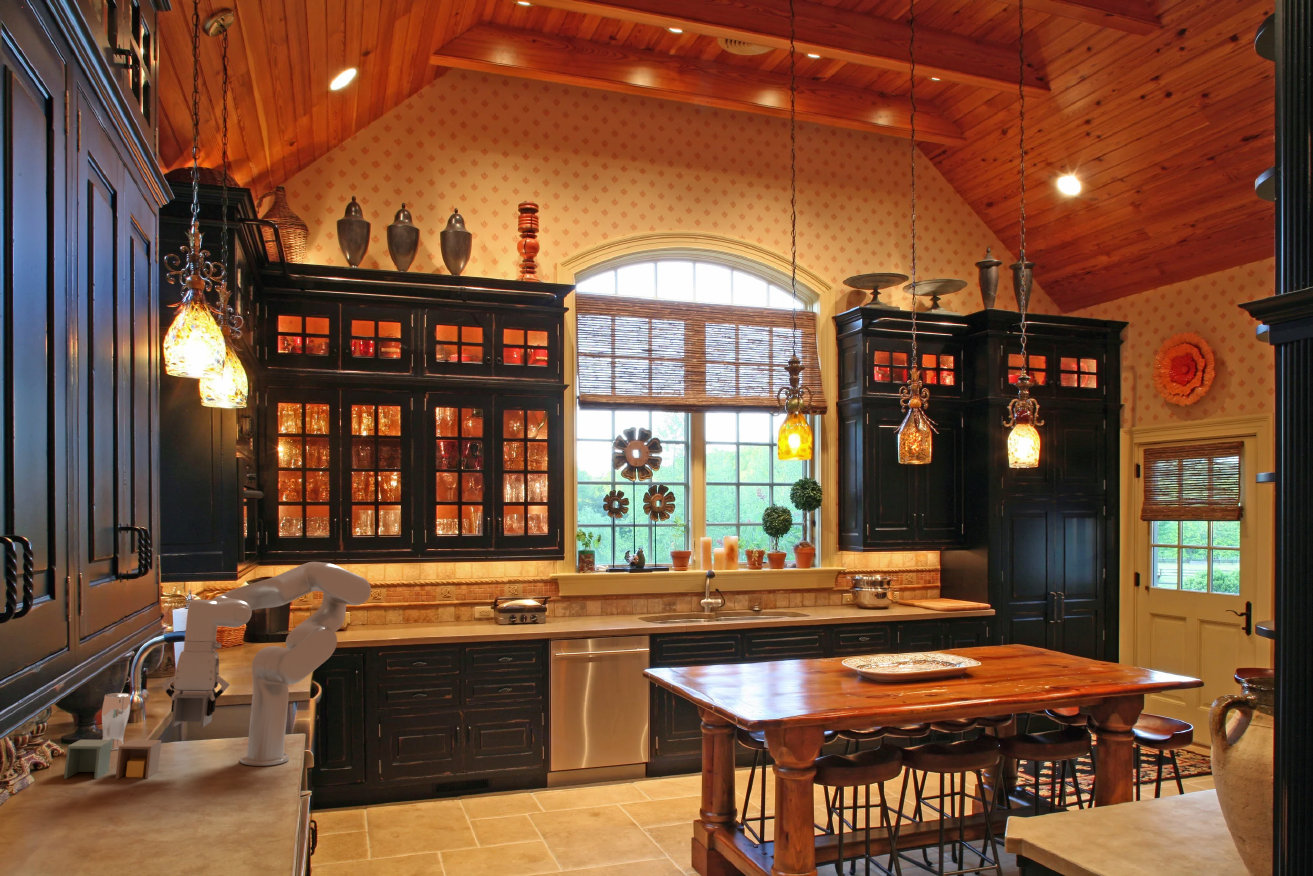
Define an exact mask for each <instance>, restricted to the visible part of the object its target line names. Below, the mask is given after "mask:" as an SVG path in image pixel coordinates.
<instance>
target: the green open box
mask: <svg viewBox="0 0 1313 876" xmlns="http://www.w3.org/2000/svg"><path fill="white" fill-rule="evenodd" d="M111 746H112V740H102V739H79V740H77V741H75V742H73V743H72V744H71V743H70V744H69V745H68V746H67V748H66V749H67V750H66V756H65V758H66V759H65V764H64V765H65V766H64V773H63V774H64V775H63V780H67V779H68V778H70V777H72V776H73V775H76V774H77V773H78V772H79V773H81V772H83V773H85V772H87V773H94V775H93V777H94V778H93V779H95V780H96V779H99V778H100V777H102V776H103V775H105V774H107V773H108V772H109V771H110V761H111V752H112V750H111Z"/></svg>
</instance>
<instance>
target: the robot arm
mask: <svg viewBox="0 0 1313 876" xmlns="http://www.w3.org/2000/svg"><path fill="white" fill-rule="evenodd" d="M371 587H372V586H371V584H370V582H369V581H368V580H367V579H366V578H365V577H363V576H360V575H358V574H356V573H354V572H352V571H349V570H347V569H344V568H343V567H341V566H339V565H336V564H333V563H329V562H321V561H310V562H306V563H303V564H300V565H298V566H296V567H293V568H291V569H290V570H287V571H284V572H282V573H280V574H278V575H276V576H273V577H270V578H267V579H262V580H259V581H256V582H254V583H250V584H246V585H242V586H240V587H237V588H233V589H231V590H229V591H227V592H224V593H222V594H220V595H217V596H216V597H214V598H212V599H194V600H191V601H190V602H189V604H188V605H187V612H186V613H187V617H186V623H185V624H186V625H185V631H184V633H185V635H184V641H183V643H184V645H183V651H181V652H180V654H179V657H178V660H177V663H176V668H175V673H174V675H173V676H171V677H169V678H168V679H166V680H165V681H164V682H162V683H161V686H162V688H163V690H164V691H165V693H166V694H167V695H168V697H169V698H170V700H171V709H170V710H171V712H172V713H173V708H174V698H175V695H176V694H180V692H183V691H206V692H207V694H209V698H210V699H209V701H208V706H207V716H210V715H212V716H213V714H214V712H215V711H216V701H217V699H218V698H219V697H220V696H222V694H224V692H225V691H226V690H227V689H228V688H229V686H230V683H229V682H228V681H226V680H225V679H224V678H223V677H221V676H220V656H219V651H216V650H218V649H221V648H222V643H221V642H218V641H217V633H218V632H217V631H218V627H226V628H240V627H242V626H244V625H246V624H248V622H249V621H250V619H251V617H252V614H253V612H252V611H255V610H259V609H269V608H277V607H281V606H285V605H287V604H288V603H291V602H294V601H295V600H297V599H300V598H301V597H303V596H306V595H308V594H310V593H312V592H322V601H321V604H320V607H319V608H318V609H317V610H316V611H315V612H314V613H313V614H312V615H310V616H308V618H306V619H305V620H304V621H302V622H301V623H299V624H298V625H297V626H296V627H294V628H293V629H292V630H290V632H289V633H288V635H287V636H286V639H285V647H283V646H279V645H271V646H269V645H268V646H266V647H263V648H262V649H260V650H258V651H257V653H256V654H255V655H254V657H253V659H252V661H251V662H252V663H251V675H252V699H251V708H250V720H249V729H248V741H247V751H246V754H243V755H242V756H241V757H240V763H241V764H243V765H245V766H246V765H247V766H253V767H254V766H255V767H256V766H257V767H265V766H266V767H267V766H276V765H280V764H284V763H286V762H288V761H289V759H290V755H289V754H288V753H285V742H286V730H287V719H288V707H289V706H288V705H289V700H290V698H289V697H290V696H289V695H290V693H289V692H290V691H289V685H294V684H297V683H299V682H301V681H303V680H305V679H306V678H307V677H308V676H309V675H310V674H311V673H313V672H315V670H316V669H318V668H319V667H320V666H321V665H322V664H324V663H325V662H326V661H327V660H329V658H331V656H332V655H333V653H334V652H335V650H336V649H337V648H336V647H337V644H338V637H337V634H336V632H338V630H339V629H340V628H341V627H342V626H343V625H344V621H345V617H346V613H347V612H346V610H347V605H350V606H360V605H362V604H365V603H366V602H367V601H368V600H369V598H371V597H370V596H371V593H372V588H371ZM172 683H173V688H172V687H171V684H172ZM219 685H220V686H221V687H220V688H219V689H218V690H217V691H216V688H217V687H218V686H219ZM174 689H175V690H174Z"/></svg>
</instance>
